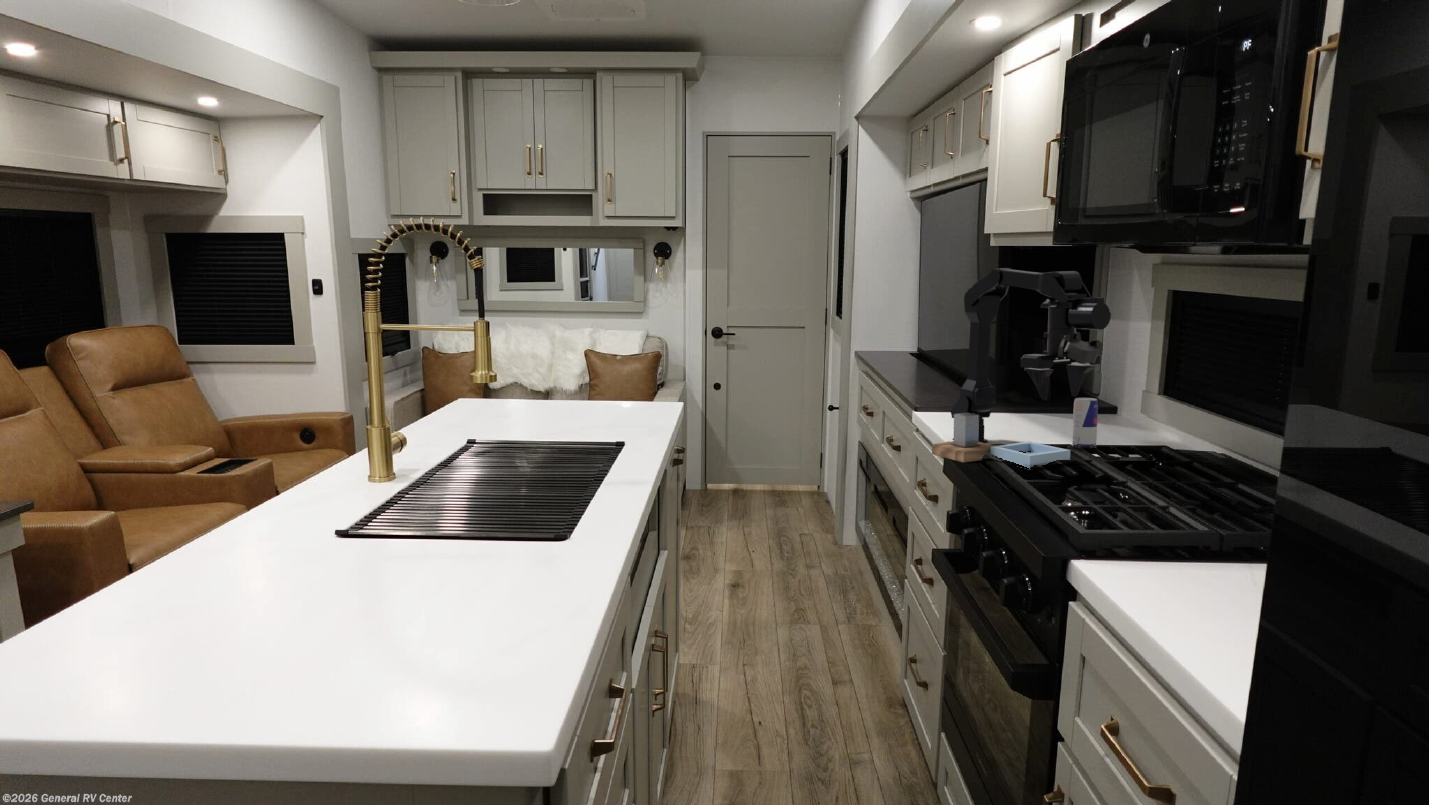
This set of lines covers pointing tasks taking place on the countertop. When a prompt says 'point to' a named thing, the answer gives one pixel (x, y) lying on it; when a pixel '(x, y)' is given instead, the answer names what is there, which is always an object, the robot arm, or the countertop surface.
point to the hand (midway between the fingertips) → (1059, 397)
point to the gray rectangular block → (966, 430)
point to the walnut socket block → (961, 451)
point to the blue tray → (1030, 453)
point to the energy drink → (1085, 422)
